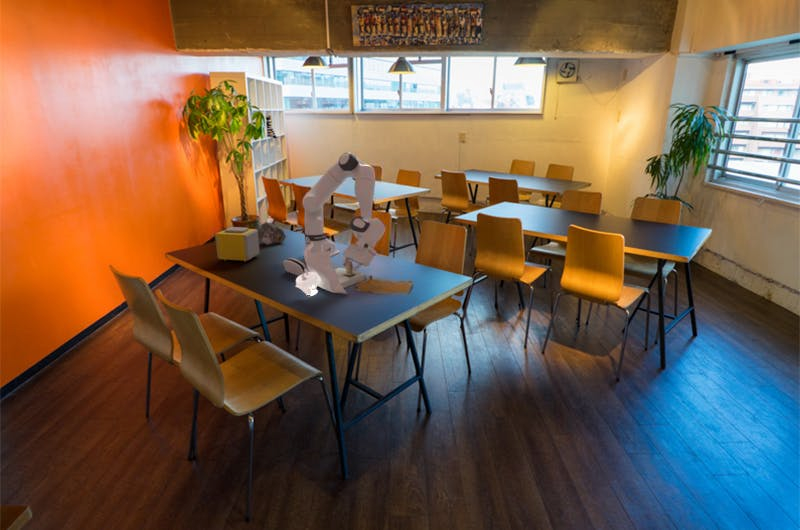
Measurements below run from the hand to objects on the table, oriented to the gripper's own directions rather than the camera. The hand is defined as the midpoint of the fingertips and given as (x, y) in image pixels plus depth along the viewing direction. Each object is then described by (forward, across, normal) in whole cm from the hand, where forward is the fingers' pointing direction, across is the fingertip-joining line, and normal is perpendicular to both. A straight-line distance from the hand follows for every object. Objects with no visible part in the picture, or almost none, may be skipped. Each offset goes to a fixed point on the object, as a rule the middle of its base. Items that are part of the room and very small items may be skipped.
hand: (348, 267), depth 232 cm
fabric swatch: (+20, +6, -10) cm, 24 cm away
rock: (+5, -97, +5) cm, 97 cm away
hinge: (+17, -26, -6) cm, 32 cm away
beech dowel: (+4, 0, +5) cm, 7 cm away
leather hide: (0, +21, +11) cm, 24 cm away
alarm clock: (+27, -73, -16) cm, 79 cm away
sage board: (+7, -3, +3) cm, 8 cm away
